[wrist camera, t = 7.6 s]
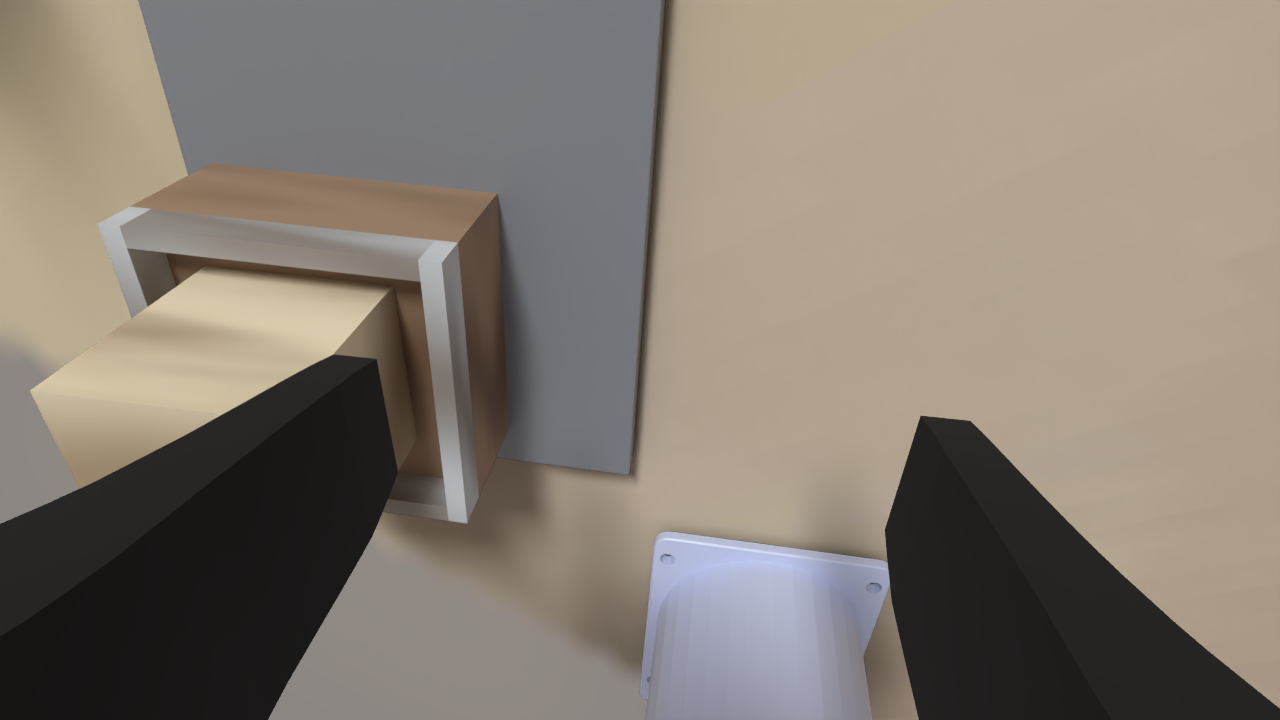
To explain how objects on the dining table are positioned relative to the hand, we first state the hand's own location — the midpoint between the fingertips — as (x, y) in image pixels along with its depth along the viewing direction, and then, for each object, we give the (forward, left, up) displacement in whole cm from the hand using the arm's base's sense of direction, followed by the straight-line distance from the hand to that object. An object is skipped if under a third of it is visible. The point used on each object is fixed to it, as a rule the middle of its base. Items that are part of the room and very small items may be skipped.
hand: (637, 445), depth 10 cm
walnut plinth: (-4, +8, -10) cm, 14 cm away
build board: (0, +7, -10) cm, 13 cm away
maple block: (-4, +8, -6) cm, 11 cm away
